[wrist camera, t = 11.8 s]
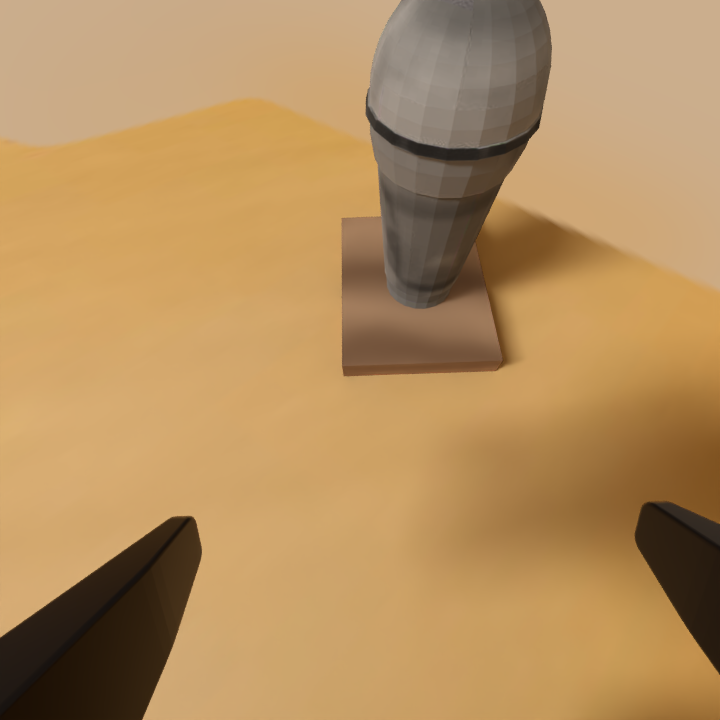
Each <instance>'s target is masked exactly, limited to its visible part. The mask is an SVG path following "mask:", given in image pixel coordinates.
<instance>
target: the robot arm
mask: <svg viewBox="0 0 720 720" xmlns="http://www.w3.org/2000/svg"><path fill="white" fill-rule="evenodd" d="M635 541H636V544H637V547H638V549H639V550H640V552H641V554H642V555H643V557H644V559H645V560H646V562H647V563H648V565H649V567H650V568H651V570H652V572H653V573H654V575H655V577H656V578H657V580H658V582H659V583H660V585H661V586H662V588H663V590H664V591H665V593H666V595H667V596H668V598H669V600H670V601H671V603H672V605H673V606H674V608H675V609H676V611H677V613H678V614H679V616H680V618H681V619H682V621H683V622H684V624H685V625H686V627H687V629H688V630H689V632H690V633H691V635H692V636H693V637H694V639H695V640H696V642H697V643H698V645H699V646H700V648H701V649H702V650H703V652H704V653H705V655H706V656H707V657H708V659H709V660H710V662H711V663H712V664H713V666H714V667H715V669H716V670H717V671H718V673H719V674H720V524H718V523H716V522H714V521H711V520H709V519H707V518H705V517H702V516H700V515H698V514H696V513H694V512H691V511H689V510H687V509H685V508H682V507H680V506H678V505H676V504H673V503H671V502H667V501H652V502H646V503H644V504H643V505H642V507H641V511H640V515H639V519H638V523H637V527H636V531H635ZM201 555H202V547H201V542H200V538H199V533H198V528H197V524H196V521H195V519H194V518H193V517H192V516H175V517H171V518H170V519H168V520H166V521H165V522H164V523H162V524H161V525H159V526H158V527H157V528H155V529H154V530H152V531H151V532H149V533H148V534H147V535H145V536H144V537H142V538H141V539H140V540H138V541H137V542H135V543H134V544H132V545H131V546H130V547H128V548H127V549H125V550H124V551H122V552H121V553H120V554H118V555H117V556H115V557H114V558H113V559H111V560H110V561H108V562H107V563H105V564H104V565H103V566H101V567H100V568H98V569H97V570H95V571H94V572H93V573H91V574H90V575H88V576H87V577H86V578H84V579H83V580H81V581H80V582H78V583H77V584H76V585H74V586H73V587H71V588H70V589H69V590H67V591H66V592H64V593H63V594H61V595H60V596H59V597H57V598H56V599H54V600H53V601H51V602H50V603H49V604H47V605H46V606H44V607H43V608H42V609H40V610H39V611H37V612H36V613H34V614H33V615H32V616H30V617H29V618H27V619H26V620H24V621H23V622H22V623H20V624H19V625H17V626H16V627H14V628H13V629H12V630H10V631H9V632H7V633H6V634H5V635H3V636H2V637H0V720H142V719H143V717H144V714H145V712H146V710H147V707H148V705H149V702H150V700H151V698H152V695H153V693H154V690H155V688H156V686H157V683H158V681H159V679H160V676H161V674H162V671H163V669H164V667H165V664H166V662H167V659H168V657H169V654H170V652H171V649H172V647H173V644H174V641H175V638H176V635H177V633H178V630H179V626H180V623H181V620H182V617H183V614H184V611H185V608H186V605H187V601H188V598H189V595H190V592H191V589H192V586H193V583H194V579H195V576H196V573H197V570H198V567H199V564H200V560H201Z"/></svg>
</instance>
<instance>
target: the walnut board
mask: <svg viewBox="0 0 720 720" xmlns="http://www.w3.org/2000/svg"><path fill="white" fill-rule="evenodd" d="M502 361H503V358H502V354H501V350H500V345H499V341H498V337H497V333H496V328H495V324H494V320H493V315H492V311H491V307H490V302H489V298H488V294H487V290H486V285H485V281H484V277H483V272H482V268H481V264H480V259H479V255H478V251H477V246H476V242H474V244H473V246H472V249H471V251H470V253H469V255H468V257H467V259H466V261H465V263H464V266H463V268H462V270H461V272H460V274H459V276H458V278H457V280H456V282H455V283H454V284H453V286H452V288H451V289H450V292H449V295H448V296H447V297H446V298H445V300H444V301H443V302H441V303H439V304H438V305H436V306H434V307H430V308H426V309H415V308H411V307H407V306H404V305H403V304H401V303H399V302H397V301H396V300H395V299H394V298H393V297H392V296H391V295H390V292H389V290H388V288H387V278H386V273H385V265H384V250H383V235H382V220H381V217H357V218H342V367H343V374H344V376H360V375H390V374H419V373H448V372H478V371H496V370H497V368H498V367H499V365H500V364H501V363H502Z"/></svg>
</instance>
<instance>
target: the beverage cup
mask: <svg viewBox="0 0 720 720" xmlns="http://www.w3.org/2000/svg"><path fill="white" fill-rule="evenodd" d="M551 52H552V45H551V36H550V28H549V24H548V21H547V17H546V14H545V11H544V9H543V6H542V4H541V2H540V1H539V0H401V2H400V3H399V5H398V7H397V8H396V9H395V11H394V12H393V14H392V15H391V17H390V19H389V20H388V22H387V24H386V26H385V28H384V30H383V32H382V34H381V37H380V39H379V42H378V45H377V48H376V51H375V54H374V59H373V64H372V69H371V77H370V87H369V89H368V93H367V97H366V116H367V118H368V120H369V122H370V134H371V140H372V146H373V151H374V156H375V160H376V162H377V164H378V175H379V190H380V205H381V220H382V235H383V250H384V265H385V273H386V278H387V288H388V290H389V292H390V295H391V296H392V297H393V298H394V299H395V300H396V301H397V302H399V303H401V304H403V305H404V306H407V307H411V308H415V309H426V308H430V307H434V306H436V305H438V304H439V303H441V302H443V301H444V300H445V298H446V297H447V296H448V295H449V292H450V289H451V288H452V286H453V284H454V283H455V282H456V280H457V278H458V276H459V274H460V272H461V270H462V268H463V266H464V263H465V261H466V259H467V257H468V255H469V253H470V251H471V249H472V246H473V244H474V242H475V240H476V238H477V236H478V234H479V232H480V230H481V227H482V225H483V223H484V221H485V219H486V217H487V215H488V213H489V211H490V208H491V206H492V204H493V202H494V200H495V198H496V196H497V194H498V191H499V189H500V187H501V185H502V183H503V181H504V179H505V177H506V176H507V175H508V174H509V173H510V171H511V170H512V169H513V167H514V165H515V164H516V162H517V160H518V159H519V157H520V156H521V154H522V152H523V151H524V149H525V147H526V145H527V143H528V141H529V139H530V138H531V137H532V135H533V134H534V133H535V132H536V131H537V130H538V128H539V124H540V120H541V114H542V109H543V103H544V99H545V94H546V90H547V84H548V79H549V73H550V68H551Z"/></svg>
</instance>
